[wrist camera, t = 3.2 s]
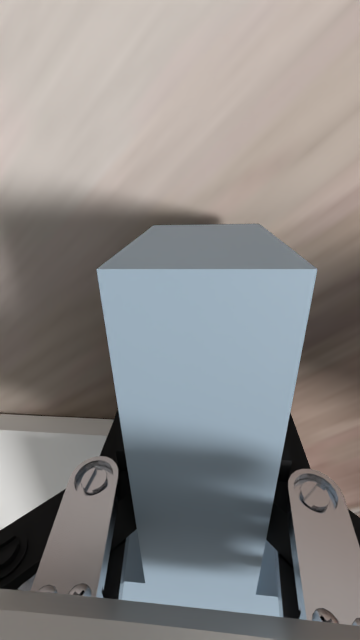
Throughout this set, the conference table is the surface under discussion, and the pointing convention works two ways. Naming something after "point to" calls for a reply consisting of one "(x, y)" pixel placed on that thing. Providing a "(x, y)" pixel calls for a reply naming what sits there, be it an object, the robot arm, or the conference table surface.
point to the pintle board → (42, 458)
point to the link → (204, 405)
